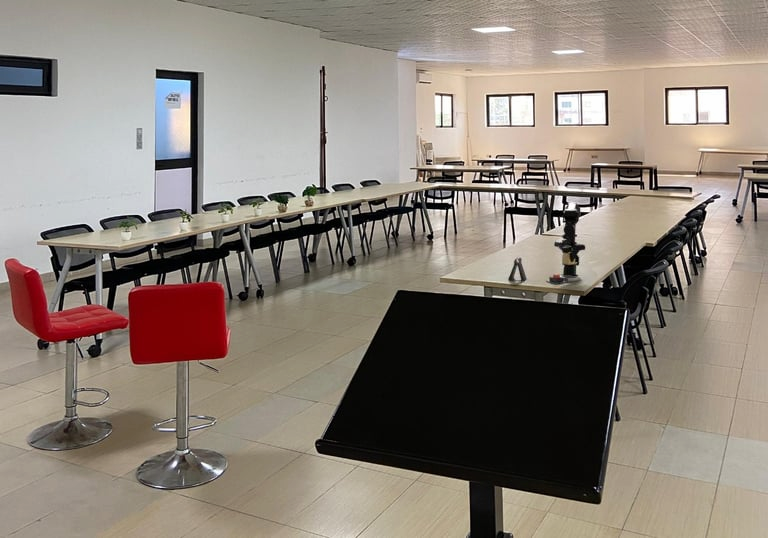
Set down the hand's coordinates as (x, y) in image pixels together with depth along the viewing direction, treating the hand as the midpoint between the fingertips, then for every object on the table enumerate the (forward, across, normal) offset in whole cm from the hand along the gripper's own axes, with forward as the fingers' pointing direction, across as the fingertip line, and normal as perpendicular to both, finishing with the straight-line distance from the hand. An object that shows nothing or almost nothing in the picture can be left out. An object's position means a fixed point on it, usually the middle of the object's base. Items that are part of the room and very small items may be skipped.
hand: (569, 261), depth 409 cm
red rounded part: (+9, 0, -9) cm, 12 cm away
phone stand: (+11, -16, -22) cm, 29 cm away
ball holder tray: (+11, 0, -4) cm, 11 cm away
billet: (+1, 0, 0) cm, 1 cm away
